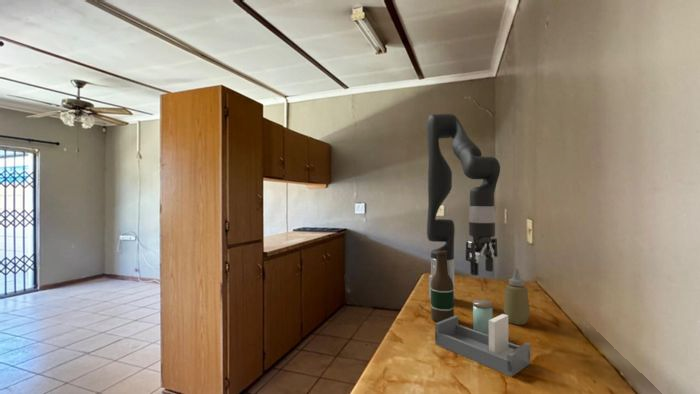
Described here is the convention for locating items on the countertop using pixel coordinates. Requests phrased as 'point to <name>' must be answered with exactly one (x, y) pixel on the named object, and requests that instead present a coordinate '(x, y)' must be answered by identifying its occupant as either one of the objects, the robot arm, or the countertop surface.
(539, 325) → the countertop surface
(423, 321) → the countertop surface
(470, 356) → the gray rectangular tray
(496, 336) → the pusher
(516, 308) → the squeeze bottle
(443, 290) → the beer bottle
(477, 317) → the jar
